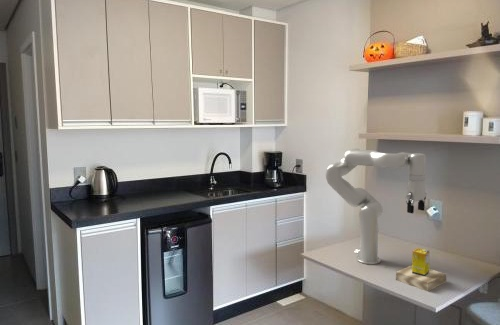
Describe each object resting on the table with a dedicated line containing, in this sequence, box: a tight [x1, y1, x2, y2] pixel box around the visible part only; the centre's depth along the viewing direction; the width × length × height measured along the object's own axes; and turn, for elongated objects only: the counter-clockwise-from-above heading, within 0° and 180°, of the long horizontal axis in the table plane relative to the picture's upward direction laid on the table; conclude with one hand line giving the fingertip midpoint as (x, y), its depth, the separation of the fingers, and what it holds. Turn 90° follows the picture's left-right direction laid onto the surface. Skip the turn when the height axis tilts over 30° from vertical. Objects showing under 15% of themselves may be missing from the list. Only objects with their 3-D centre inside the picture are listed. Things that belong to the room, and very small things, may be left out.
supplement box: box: [411, 247, 430, 276], centre depth 180 cm, size 6×6×11 cm
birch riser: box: [395, 264, 447, 292], centre depth 181 cm, size 16×16×4 cm
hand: (415, 211), depth 192 cm, fingers open, 9 cm apart
